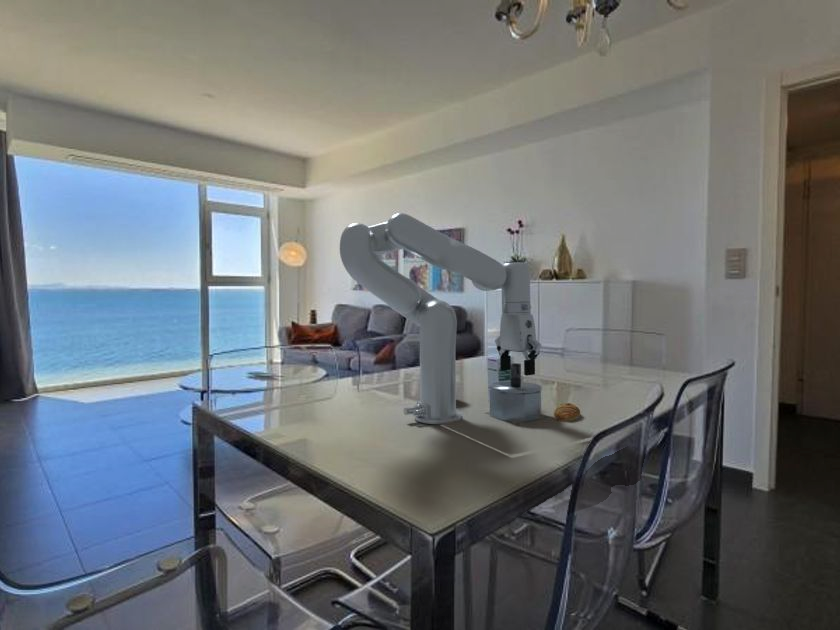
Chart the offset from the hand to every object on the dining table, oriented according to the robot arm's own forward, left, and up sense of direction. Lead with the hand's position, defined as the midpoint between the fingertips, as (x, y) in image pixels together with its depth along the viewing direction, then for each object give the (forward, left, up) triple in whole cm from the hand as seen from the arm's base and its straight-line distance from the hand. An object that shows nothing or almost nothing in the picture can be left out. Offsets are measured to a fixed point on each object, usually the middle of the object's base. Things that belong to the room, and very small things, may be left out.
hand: (517, 372), depth 127 cm
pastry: (+10, -8, -13) cm, 18 cm away
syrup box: (+6, +14, -12) cm, 20 cm away
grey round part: (0, 0, -12) cm, 12 cm away
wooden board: (0, 0, -12) cm, 12 cm away
